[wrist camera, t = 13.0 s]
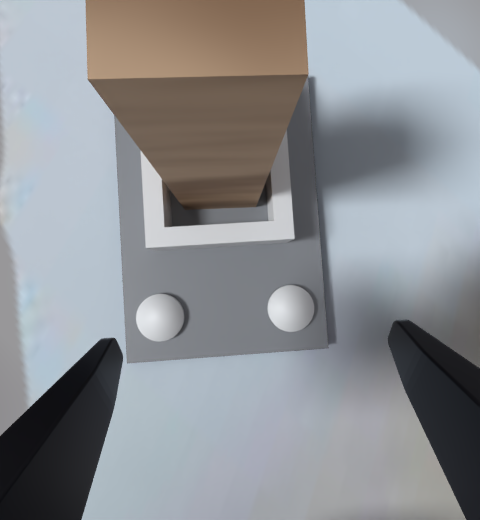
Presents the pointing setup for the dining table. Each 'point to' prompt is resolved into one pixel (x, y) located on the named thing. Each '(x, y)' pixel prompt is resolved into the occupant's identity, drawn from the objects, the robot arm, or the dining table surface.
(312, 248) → the grey insertion base
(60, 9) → the dining table surface
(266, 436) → the dining table surface
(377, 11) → the dining table surface
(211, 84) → the tan tall block
